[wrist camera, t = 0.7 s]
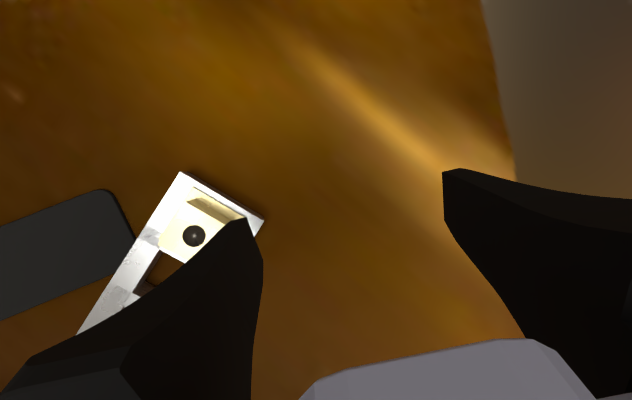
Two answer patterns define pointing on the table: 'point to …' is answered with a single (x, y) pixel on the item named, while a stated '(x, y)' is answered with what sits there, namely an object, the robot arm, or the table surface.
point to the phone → (61, 250)
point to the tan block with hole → (195, 223)
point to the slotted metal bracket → (155, 248)
